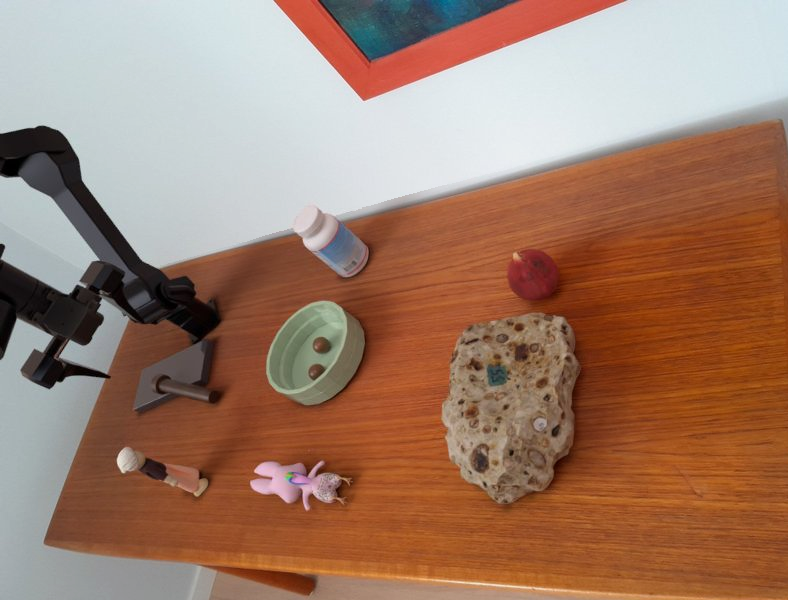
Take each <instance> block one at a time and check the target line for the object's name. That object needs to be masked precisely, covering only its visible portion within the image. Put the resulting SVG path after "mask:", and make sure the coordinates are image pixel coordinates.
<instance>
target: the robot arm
mask: <svg viewBox="0 0 788 600" xmlns="http://www.w3.org/2000/svg"><path fill="white" fill-rule="evenodd" d="M0 177H2V178H4V179H5V178H6V179H9V178H11V179H12V178H20V179H22V181H24V182H25V184H27V185H28V186H29V187H30V188H31V189H33V190H36V191H38V192H39V193H42V194H44V195H46V196H47V197H49V198H51V200H53V202H54V203H55V204H56V205H57V207H58V208H59V209H60V211H61V212H62V213H63V215H64V216H65V217H66V218H67V220H68V221H69V223H71V225H72V226H73V228H74V229H75V231H77V233H78V234H79V235H80V237H81V238H82V239H83V240H84V242H85V243H86V244H87V245H88V247H89V248H90V250H91V251H92V252H93V253H94V255H95V257H96V258H97V259H98V260H93V261H91V262H90V263H89V265H88V266H87V268H86V270H85V271H84V272H83V274H82V276H81V277H80V279H79V280H78V282H79V283H80V284H82V285H83V286H82V285H80V284H76V285H75V286H74V288H73V289H72V290H71V291H70V292H69V294H68V293H65V292H63V291H62V290H61V291H60V290H59V289H57V288H56V287H53V286H52V285H51V284H48V283H46V282H44V281H43V280H40V279H39V278H37V277H35V276H33V275H31V274H30V273H28V272H25V271H24V270H22V269H20V268H18V267H17V266H15V265H13V264H11V263H9V262H7V261H6V260H4V259H2V257H3V255H4V252H5V250H6V245H5V244H4V243H0V361H2V360H3V359H4V357H5V354H6V351H7V349H8V346H9V343H10V340H11V338H12V335H13V332H14V330H15V326H16V324H17V321H18V320H20V321H22V322H24V323H26V324H28V325H29V326H31V327H34V328H36V329H38V330H40V331H42V332H44V333H45V334H47V335H50V336H51V339H50V341H49V343H48V344H47V346H46V347H45V349H44V350H43V351H41V350H38V349H36V348H33V350H32V351H31V353H30V354H29V356H28V358H27V359H26V361H25V362H24V363H23V365H22V366H21V368H20V369H19V371H20V374H21V376H22V377H24V378H25V379H26V380H28V381H30V382H31V383H34V384H36V385H37V386H40V387H42V388H45V389H47V390H51V389H52V388H54V387H55V385H56V384H57V383H59V384H60V383H63V382H64V381H65V380H66V378H69V377H91V378H99V379H108V380H110V379H111V378H112V376H111V375H109V374H108V373H105V372H103V371H101V370H99V369H96V368H93V367H90V366H88V365H87V366H86V365H84V364H80V363H78V362H75V361H72V360H69V359H67V358H63V357H61V354H62V353H63V351H64V350H65V348H66V346H67V345H68V344H69V342H70V341H72V342H74V343H76V344H78V345H80V346H82V347H85V346H88V345H89V344H90V343H91V341H92V340H93V336H94V335H95V333H96V332H97V330H98V329H99V327H100V326H102V325H103V323H104V321H105V315H104V314H102V313H101V312H99V309H100V307H101V306H102V303H101V302H102V300H104V301H106V302H107V303H108V304H110V305H111V306H112V307H114V308H116V309H117V310H118V311H120V312H121V314H122V316H123V317H127V318H128V319H129V320H130V321H132V322H133V323H134V324H139V325H154V326H156V325H158V324H160V323H162V322H163V321H165V320H166V321H168V322H170V323H171V324H173V325H174V326H177V327H178V328H180V329H182V331H185V332H186V333H188V336H189V341H190V344H191V345H192V346H193V345H195V344H197V343H199V342H200V340H201V339H203V338H204V337H205V336H206V335H207V334H208V333H210V332H211V330H212V329H214V328H215V327H216V326H217V325H218V324H219V323H220V321H221V320H220V315H219V311H218V308H217V304H216V300H215V299H213V298H211V299H210V300H208V301H207V302H206V303H205V302H204V301H202V300H201V299H200V298H197V291H196V290H195V283H194V282H193V281H192V280H191V279H190V278H189V277H188V276H187V275H182V276H179V277H174V278H171V279H170V278H169V277H168V276H167V275H166V274H165V272H164V271H162V270H161V269H159V268H157V267H155V266H154V265H151V264H150V263H147V262H146V261H143V260H142V259H141V258H140V256H139V255H138V253H137V252H136V250H134V248H133V247H132V245H131V244H130V243H129V241H128V240H127V239H126V238H125V236H124V235H123V233H122V232H121V230H120V229H119V228H118V227H117V225H116V224H115V223H114V221H113V220H112V219H111V217H110V216H109V215H108V213H107V212H106V211H105V209H104V208H103V206H102V205H101V204H100V202H99V201H98V200H97V198H96V197H95V196H94V194H93V193H92V192H91V190H90V189H89V188H88V187H87V185H86V183H84V181H83V176H82V169H81V163H80V158H79V156H78V154H77V153H76V151H75V150H74V148H73V146H72V144H71V143H70V141H69V139H68V138H67V137H66V136H65V134H64V133H62V132H61V131H60V130H58V129H57V128H52V127H50V126H47V125H43V124H42V125H38V126H35V127H25V128H21V129H17V130H11V131H6V132H0Z"/></svg>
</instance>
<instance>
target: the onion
mask: <svg viewBox="0 0 788 600" xmlns="http://www.w3.org/2000/svg"><path fill="white" fill-rule="evenodd" d="M506 272H507V273H506V278H507V283H508V285H509V288H510V290H511V292H512V293H514V294H515V295H516V296H517V297H519V298H520V299H522V300H525V301H529V302H536V301H537V302H538V301H542V300H544V299H547V298H548V297H549V296H550V295H551V294H552V293H554V291H555V290H556V288H557V286H558V285H559V277H560V276H559V274H560V271H559V268H558V266H557V264H556V262H555V260H554V259H553V257H551V255H549V254H547V253H546V252H544V250H541V249H536V248H527V249H523V250H521V251H518V250H515V251H514V252H513V253H512V258H511V260H510V261H509V263H508V266H507V271H506Z"/></svg>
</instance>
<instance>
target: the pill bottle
mask: <svg viewBox="0 0 788 600" xmlns="http://www.w3.org/2000/svg"><path fill="white" fill-rule="evenodd" d="M292 230H293V232H294V233H296V234H297V236H299V237H301V238H302V243H303V246H305V248H306V249H308V250H309V251H310V252H311V253H312V254H313V255H315V257H317V258H318V259H319V260H321V261H322V262H323V263H324V264H326V266H328V267H329V268H330V269H332V270H333V271H334V272H335V273H336V274H338V275H339V276H340V277H343V278H351V277H353V276H355V275H357V274H358V273H359V272H361V271H362V270H363V269H364V268H365V266H366V264H367V262H368V259H369V254H370V253H369V247H368V246H367V245H366V244H365V242H363V241H362V240H361V239H360V238H359V237H358V236H357V235H356V234H354V233H353V232H352V231H351V230H350V229H349V228H348V227H347V226H346V225H345V224H344V223H343V222H341V220H339V219H338V218H337V217H336V216H335V215H333V214H331V213H328V212H325V213H324V212H323V211H322V210H321V209H320V208H319V207H318V206H316V205H313V204H311V205H307V206H305V207H304V208H303V209H301V210H300V211H299V212H298V213H297V215H296V216H295V218H294V219H293V222H292Z"/></svg>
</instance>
